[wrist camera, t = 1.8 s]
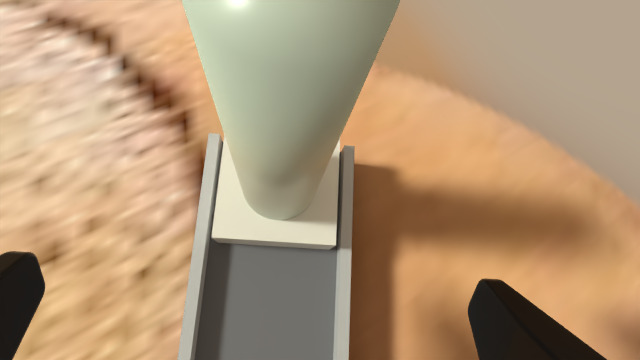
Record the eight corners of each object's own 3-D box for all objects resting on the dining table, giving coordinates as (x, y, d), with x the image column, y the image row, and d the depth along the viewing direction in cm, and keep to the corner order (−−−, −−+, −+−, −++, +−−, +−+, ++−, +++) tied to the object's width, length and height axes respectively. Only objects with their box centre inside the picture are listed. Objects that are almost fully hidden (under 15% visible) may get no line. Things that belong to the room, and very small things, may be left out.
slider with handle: (329, 249, 18) (479, 148, 5) (217, 242, 18) (54, 108, 5) (333, 151, 20) (460, -137, 6) (230, 141, 19) (131, -192, 6)
